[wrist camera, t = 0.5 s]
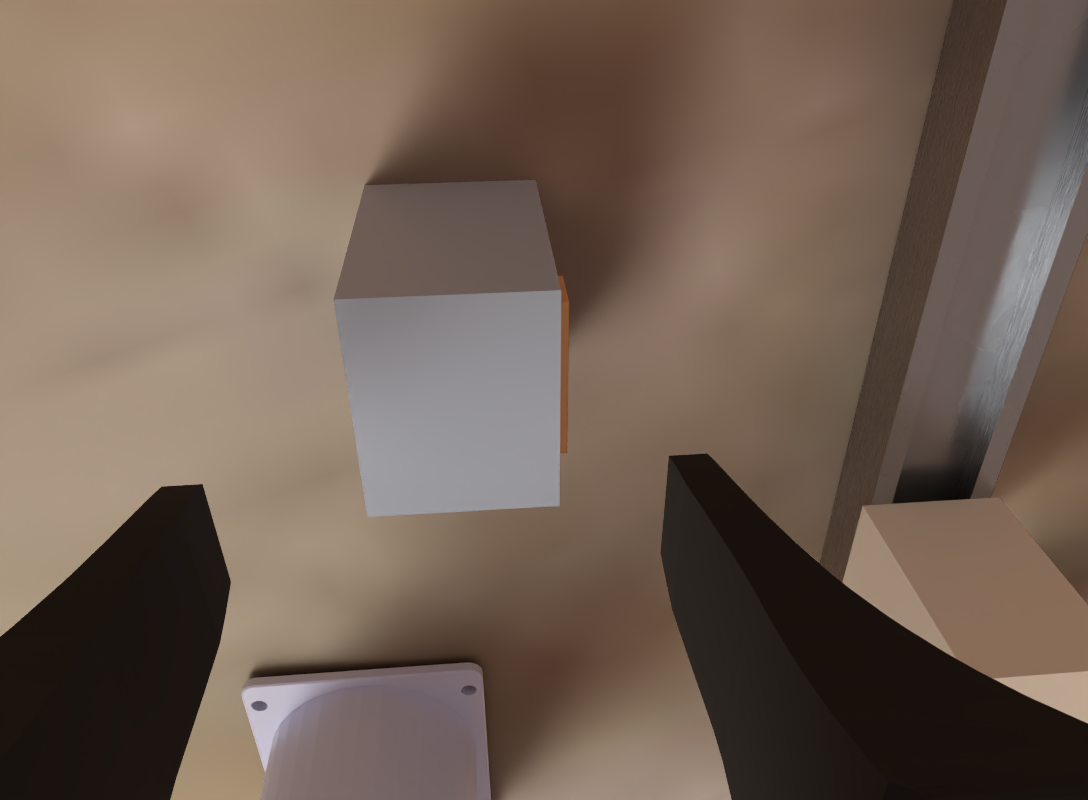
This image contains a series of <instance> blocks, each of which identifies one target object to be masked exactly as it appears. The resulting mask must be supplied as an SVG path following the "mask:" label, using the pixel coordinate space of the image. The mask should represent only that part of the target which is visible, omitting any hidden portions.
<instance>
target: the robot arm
mask: <svg viewBox="0 0 1088 800" xmlns="http://www.w3.org/2000/svg"><path fill="white" fill-rule="evenodd" d="M661 557H662V562H663V567H664V572H665V577H666V582H667V587H668V591H669V596H670V601H671V605H672V610H673V613H674V616H675V619H676V622H677V625H678V628H679V631H680V634H681V637H682V640H683V643H684V645H685V648H686V651H687V654H688V657H689V660H690V663H691V666H692V669H693V672H694V675H695V678H696V680H697V683H698V686H699V689H700V692H701V695H702V698H703V701H704V704H705V707H706V709H707V712H708V715H709V718H710V721H711V724H712V727H713V730H714V733H715V736H716V740H717V743H718V746H719V750H720V753H721V756H722V760H723V764H724V768H725V773H726V777H727V781H728V785H729V790H730V794H731V798H732V800H1088V723H1086V722H1083V721H1081V720H1079V719H1077V718H1075V717H1072V716H1070V715H1068V714H1066V713H1063V712H1061V711H1059V710H1057V709H1054V708H1052V707H1050V706H1048V705H1045V704H1043V703H1041V702H1039V701H1037V700H1034V699H1032V698H1030V697H1028V696H1026V695H1024V694H1022V693H1020V692H1018V691H1016V690H1014V689H1012V688H1010V687H1008V686H1006V685H1004V684H1002V683H1000V682H998V681H997V680H995V679H993V678H991V677H989V676H987V675H985V674H983V673H981V672H979V671H977V670H976V669H974V668H972V667H970V666H968V665H967V664H965V663H963V662H961V661H959V660H958V659H956V658H954V657H952V656H951V655H949V654H947V653H945V652H944V651H942V650H941V649H939V648H937V647H936V646H934V645H932V644H931V643H929V642H928V641H926V640H924V639H923V638H921V637H920V636H918V635H916V634H915V633H913V632H911V631H910V630H908V629H907V628H905V627H904V626H902V625H901V624H899V623H898V622H896V621H895V620H893V619H892V618H890V617H889V616H887V615H886V614H884V613H883V612H882V611H880V610H879V609H877V608H876V607H875V606H873V605H872V604H870V603H869V602H868V601H866V600H865V599H864V598H862V597H861V596H859V595H858V594H857V593H855V592H854V591H853V590H851V589H850V588H849V587H847V586H846V585H845V584H843V583H842V582H841V581H840V580H838V579H837V578H836V577H835V576H833V575H832V574H831V573H830V572H829V571H827V570H826V569H825V568H824V567H823V566H822V565H820V564H819V563H818V562H817V561H816V560H814V559H813V558H812V557H811V556H810V555H809V554H808V553H806V552H805V551H804V550H803V549H802V548H801V547H800V546H799V545H798V544H796V543H795V542H794V541H793V540H792V539H791V538H790V537H789V536H788V535H787V534H786V533H785V532H784V531H783V530H782V529H781V528H780V527H779V526H778V525H776V524H775V523H774V522H773V521H772V520H771V519H770V518H769V517H768V516H767V515H766V514H765V513H764V512H763V511H762V510H761V509H760V508H759V507H758V506H757V505H756V504H755V503H754V502H753V501H752V500H751V499H750V498H749V497H748V496H747V494H746V493H745V492H744V491H743V490H742V489H741V488H740V487H739V486H738V485H737V484H736V483H735V482H734V481H733V480H732V479H731V478H730V477H729V476H728V474H727V473H726V472H725V471H724V470H723V469H722V468H721V467H720V466H719V465H718V464H717V463H716V462H715V461H714V460H713V459H712V458H711V457H710V456H709V455H708V454H694V455H677V456H669V464H668V475H667V486H666V498H665V509H664V521H663V532H662V543H661ZM230 584H231V581H230V577H229V574H228V571H227V567H226V564H225V560H224V557H223V553H222V550H221V546H220V543H219V540H218V536H217V533H216V529H215V526H214V522H213V519H212V516H211V512H210V509H209V505H208V502H207V498H206V495H205V491H204V488H203V485H202V484H200V485H183V486H167V487H161V488H160V489H159V490H158V491H157V492H155V493H154V494H153V495H152V496H151V497H150V498H149V499H148V500H147V501H146V502H145V503H144V504H143V505H142V506H141V507H140V508H139V509H138V510H137V511H136V512H135V513H134V514H133V515H132V516H131V517H130V518H129V519H128V520H127V521H126V522H125V523H124V524H123V525H122V526H121V527H120V528H119V529H118V530H117V531H116V532H115V533H114V534H113V535H112V536H111V537H110V538H109V539H108V540H107V541H106V542H105V543H104V544H103V545H102V546H100V547H99V548H98V549H97V550H96V551H95V552H94V553H93V554H92V555H91V556H90V557H89V558H88V559H87V560H86V561H85V562H84V563H83V564H82V565H81V566H80V567H79V568H78V569H77V570H76V571H75V572H73V573H72V574H71V575H70V576H69V577H68V578H67V579H66V580H65V581H64V582H63V583H62V584H60V585H59V586H58V587H57V588H56V589H55V590H54V591H53V592H51V593H50V594H49V595H48V596H47V597H46V598H45V599H43V600H42V601H41V602H40V603H39V604H38V605H37V606H36V607H34V608H33V609H32V610H31V611H30V612H29V613H28V614H26V615H25V616H24V617H23V618H22V619H21V620H20V621H19V622H17V623H16V624H15V625H14V626H13V627H12V628H10V629H9V630H8V631H7V632H6V633H4V634H3V635H2V636H1V637H0V800H170V798H171V795H172V791H173V787H174V784H175V780H176V777H177V774H178V771H179V768H180V765H181V762H182V758H183V755H184V752H185V749H186V746H187V743H188V740H189V737H190V734H191V731H192V728H193V725H194V722H195V719H196V716H197V713H198V710H199V707H200V704H201V701H202V698H203V695H204V692H205V688H206V685H207V682H208V679H209V676H210V673H211V670H212V667H213V663H214V660H215V657H216V654H217V651H218V647H219V644H220V640H221V635H222V630H223V625H224V619H225V614H226V608H227V602H228V596H229V590H230ZM468 685H471V686H468ZM242 699H243V702H244V706H245V709H246V712H247V715H248V719H249V722H250V725H251V728H252V732H253V735H254V738H255V741H256V745H257V748H258V751H259V754H260V758H261V761H262V764H263V767H264V771H265V778H264V783H263V788H262V793H261V798H260V800H491V791H490V776H489V761H488V746H487V730H486V715H485V700H484V685H483V671H482V668H481V667H480V666H479V665H477V664H474V663H468V662H466V663H452V664H438V665H424V666H411V667H397V668H383V669H369V670H355V671H341V672H327V673H313V674H299V675H285V676H271V677H257V678H252V679H249V680H248V681H246V682H245V683H244V685H243V689H242Z"/></svg>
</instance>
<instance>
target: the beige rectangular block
mask: <svg viewBox="0 0 1088 800" xmlns="http://www.w3.org/2000/svg"><path fill="white" fill-rule="evenodd" d="M843 584H845V585H846V586H847V587H849V588H850V589H851V590H853V591H854V592H855V593H857V594H858V595H859V596H861V597H862V598H864V599H865V600H866V601H868V602H869V603H870V604H872V605H873V606H875V607H876V608H877V609H879V610H880V611H882V612H883V613H884V614H886V615H887V616H889V617H890V618H892V619H893V620H895V621H896V622H898V623H899V624H901V625H902V626H904V627H905V628H907V629H908V630H910V631H911V632H913V633H915V634H916V635H918V636H920V637H921V638H923V639H924V640H926V641H928V642H929V643H931V644H932V645H934V646H936V647H937V648H939V649H941V650H942V651H944V652H945V653H947V654H949V655H951V656H952V657H954V658H956V659H958V660H959V661H961V662H963V663H965V664H967V665H968V666H970V667H972V668H974V669H976V670H977V671H979V672H981V673H983V674H985V675H987V676H989V677H991V678H993V679H995V680H997V681H998V682H1000V683H1002V684H1004V685H1006V686H1008V687H1010V688H1012V689H1014V690H1016V691H1018V692H1020V693H1022V694H1024V695H1026V696H1028V697H1030V698H1032V699H1034V700H1037V701H1039V702H1041V703H1043V704H1045V705H1048V706H1050V707H1052V708H1054V709H1057V710H1059V711H1061V712H1063V713H1066V714H1068V715H1070V716H1072V717H1075V718H1077V719H1079V720H1081V721H1083V722H1086V723H1088V604H1087V603H1086V602H1085V601H1084V600H1083V598H1082V597H1081V596H1080V595H1079V594H1078V592H1077V591H1076V590H1075V589H1074V588H1073V586H1072V585H1071V584H1070V583H1069V582H1068V580H1067V579H1066V578H1065V577H1064V575H1063V574H1062V573H1061V572H1060V571H1059V569H1058V568H1057V567H1056V566H1055V565H1054V563H1053V562H1052V561H1051V560H1050V559H1049V557H1048V556H1047V555H1046V554H1045V553H1044V551H1043V550H1042V549H1041V548H1040V547H1039V545H1038V544H1037V543H1036V542H1035V540H1034V539H1033V538H1032V537H1031V536H1030V534H1029V533H1028V532H1027V531H1026V530H1025V528H1024V527H1023V526H1022V525H1021V524H1020V522H1019V521H1018V520H1017V519H1016V518H1015V516H1014V515H1013V514H1012V513H1011V511H1010V510H1009V509H1008V508H1007V507H1006V505H1005V504H1004V503H1003V502H1002V501H1001V499H1000V498H999V497H996V498H979V499H963V500H946V501H930V502H914V503H897V504H881V505H864V506H862V510H861V514H860V518H859V522H858V525H857V529H856V533H855V537H854V541H853V544H852V548H851V552H850V556H849V560H848V564H847V567H846V571H845V575H844V579H843Z"/></svg>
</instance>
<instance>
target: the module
mask: <svg viewBox="0 0 1088 800" xmlns="http://www.w3.org/2000/svg"><path fill="white" fill-rule="evenodd" d="M334 305H335V311H336V317H337V324H338V330H339V337H340V343H341V350H342V356H343V363H344V369H345V376H346V382H347V389H348V395H349V402H350V408H351V414H352V421H353V427H354V434H355V440H356V447H357V453H358V460H359V466H360V473H361V479H362V486H363V492H364V498H365V505H366V511H367V517H378V516H396V515H413V514H430V513H447V512H464V511H481V510H498V509H515V508H532V507H549V506H560V453H567V431H568V357H569V299H568V295H567V291H566V287H565V283H564V279H563V276H558V274H557V270H556V265H555V261H554V257H553V252H552V248H551V244H550V239H549V235H548V231H547V226H546V222H545V218H544V213H543V209H542V205H541V200H540V196H539V192H538V187H537V183H536V180H508V181H478V182H447V183H416V184H386V185H365V186H364V190H363V193H362V197H361V201H360V205H359V208H358V212H357V216H356V219H355V223H354V227H353V230H352V234H351V238H350V241H349V245H348V249H347V252H346V256H345V260H344V264H343V267H342V271H341V275H340V278H339V282H338V286H337V289H336V293H335V297H334Z"/></svg>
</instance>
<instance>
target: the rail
mask: <svg viewBox="0 0 1088 800" xmlns="http://www.w3.org/2000/svg"><path fill="white" fill-rule="evenodd" d="M1087 233H1088V0H954V3H953V7H952V12H951V16H950V20H949V24H948V28H947V33H946V37H945V41H944V45H943V49H942V54H941V58H940V62H939V66H938V70H937V75H936V79H935V83H934V87H933V91H932V96H931V100H930V104H929V108H928V112H927V117H926V121H925V125H924V129H923V133H922V138H921V142H920V146H919V150H918V155H917V159H916V163H915V167H914V171H913V176H912V180H911V184H910V188H909V192H908V197H907V201H906V205H905V209H904V213H903V218H902V222H901V226H900V230H899V234H898V239H897V243H896V247H895V251H894V255H893V260H892V264H891V268H890V272H889V276H888V281H887V285H886V289H885V293H884V297H883V302H882V306H881V310H880V314H879V318H878V323H877V327H876V331H875V335H874V339H873V344H872V348H871V352H870V356H869V360H868V365H867V369H866V373H865V377H864V381H863V386H862V390H861V394H860V398H859V402H858V407H857V411H856V415H855V419H854V424H853V428H852V432H851V436H850V440H849V445H848V449H847V453H846V457H845V461H844V466H843V470H842V474H841V478H840V482H839V487H838V491H837V495H836V499H835V503H834V508H833V512H832V516H831V520H830V524H829V529H828V533H827V537H826V541H825V545H824V550H823V554H822V558H821V562H820V565H822V566H823V567H824V568H825V569H826V570H827V571H829V572H830V573H831V574H832V575H833V576H835V577H836V578H837V579H838V580H840V581H841V582H842V583H843V579H844V575H845V571H846V567H847V564H848V560H849V556H850V552H851V548H852V544H853V541H854V537H855V533H856V529H857V525H858V522H859V518H860V514H861V510H862V506H864V505H881V504H897V503H914V502H930V501H946V500H963V499H979V498H990V497H991V495H992V492H993V489H994V487H995V484H996V481H997V478H998V476H999V473H1000V470H1001V467H1002V465H1003V462H1004V459H1005V457H1006V454H1007V451H1008V448H1009V446H1010V443H1011V440H1012V437H1013V435H1014V432H1015V429H1016V427H1017V424H1018V421H1019V418H1020V416H1021V413H1022V410H1023V407H1024V405H1025V402H1026V399H1027V397H1028V394H1029V391H1030V388H1031V386H1032V383H1033V380H1034V377H1035V375H1036V372H1037V369H1038V367H1039V364H1040V361H1041V358H1042V356H1043V353H1044V350H1045V347H1046V345H1047V342H1048V339H1049V337H1050V334H1051V331H1052V328H1053V326H1054V323H1055V320H1056V317H1057V315H1058V312H1059V309H1060V306H1061V304H1062V301H1063V298H1064V296H1065V293H1066V290H1067V287H1068V285H1069V282H1070V279H1071V276H1072V274H1073V271H1074V268H1075V266H1076V263H1077V260H1078V257H1079V255H1080V252H1081V249H1082V246H1083V244H1084V241H1085V238H1086V236H1087Z"/></svg>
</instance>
